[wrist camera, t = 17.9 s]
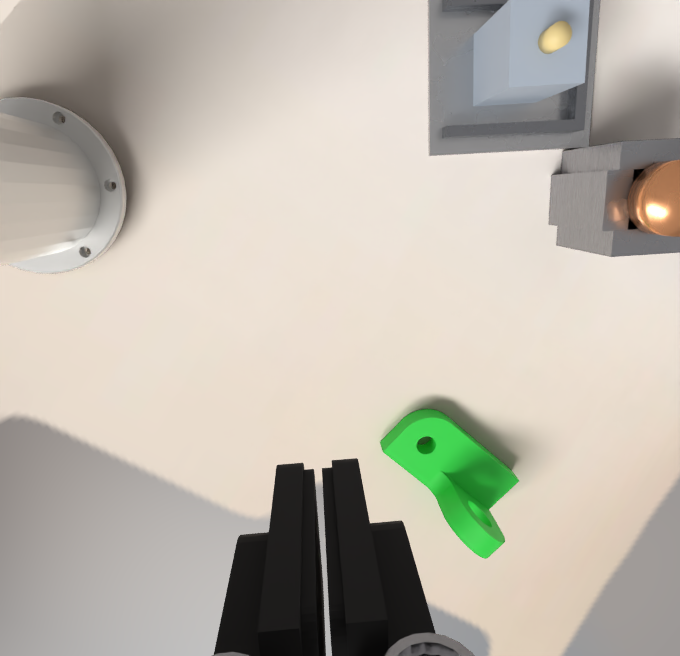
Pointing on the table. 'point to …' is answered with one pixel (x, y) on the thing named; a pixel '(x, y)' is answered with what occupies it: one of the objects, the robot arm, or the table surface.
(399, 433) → the mechanical part
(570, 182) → the copper disc holder
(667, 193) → the plunger
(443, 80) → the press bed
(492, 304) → the table surface
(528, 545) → the table surface
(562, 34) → the light blue block
